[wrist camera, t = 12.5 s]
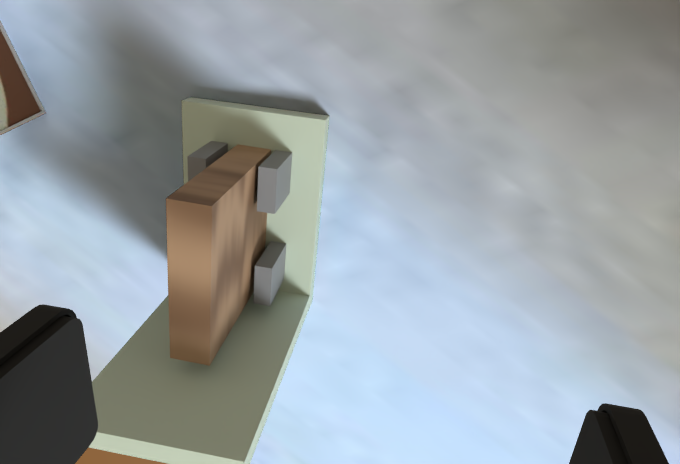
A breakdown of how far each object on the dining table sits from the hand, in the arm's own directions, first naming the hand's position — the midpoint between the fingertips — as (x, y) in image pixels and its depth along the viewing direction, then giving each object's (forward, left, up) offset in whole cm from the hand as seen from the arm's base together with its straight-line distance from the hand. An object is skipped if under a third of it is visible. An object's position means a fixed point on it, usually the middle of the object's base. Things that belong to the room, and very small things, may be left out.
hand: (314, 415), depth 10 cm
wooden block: (+9, +8, -27) cm, 29 cm away
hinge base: (+9, +8, -28) cm, 31 cm away
